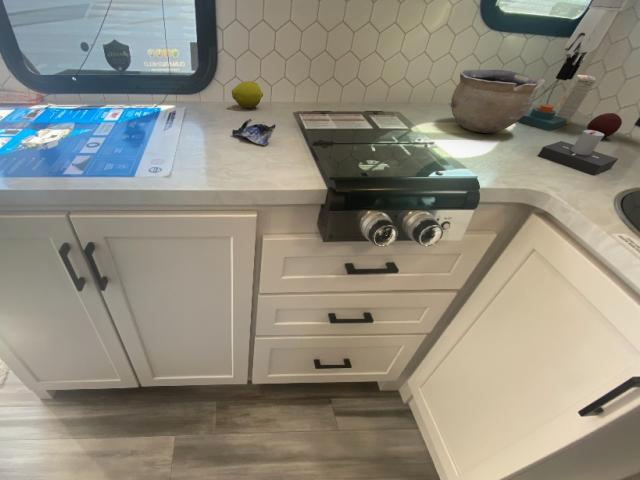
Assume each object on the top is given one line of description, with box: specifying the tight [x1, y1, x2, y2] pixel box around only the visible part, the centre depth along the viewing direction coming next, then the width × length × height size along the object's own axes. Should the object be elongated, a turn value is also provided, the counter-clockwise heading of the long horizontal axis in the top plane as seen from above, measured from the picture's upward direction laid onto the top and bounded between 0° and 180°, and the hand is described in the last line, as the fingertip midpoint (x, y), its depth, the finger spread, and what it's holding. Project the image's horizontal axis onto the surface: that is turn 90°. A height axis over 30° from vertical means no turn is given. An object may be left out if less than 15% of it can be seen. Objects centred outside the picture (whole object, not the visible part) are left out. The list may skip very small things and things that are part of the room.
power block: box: [517, 106, 568, 131], centre depth 117 cm, size 12×10×4 cm
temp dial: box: [571, 129, 604, 155], centre depth 90 cm, size 4×4×5 cm
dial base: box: [537, 140, 619, 176], centre depth 93 cm, size 14×10×3 cm
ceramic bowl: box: [450, 69, 546, 134], centre depth 106 cm, size 22×22×15 cm
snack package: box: [231, 118, 276, 147], centre depth 98 cm, size 12×6×12 cm
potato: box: [586, 112, 623, 139], centre depth 107 cm, size 7×8×7 cm
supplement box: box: [554, 74, 597, 125], centre depth 116 cm, size 8×5×13 cm, turn 147°
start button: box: [538, 103, 554, 112], centre depth 115 cm, size 4×4×2 cm
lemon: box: [231, 80, 264, 109], centre depth 117 cm, size 11×8×8 cm
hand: (563, 78), depth 109 cm, fingers closed
